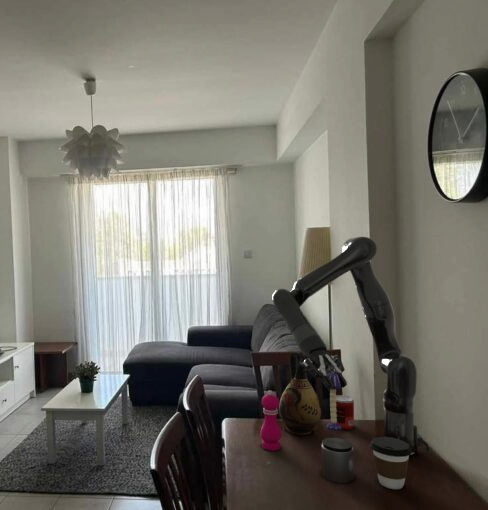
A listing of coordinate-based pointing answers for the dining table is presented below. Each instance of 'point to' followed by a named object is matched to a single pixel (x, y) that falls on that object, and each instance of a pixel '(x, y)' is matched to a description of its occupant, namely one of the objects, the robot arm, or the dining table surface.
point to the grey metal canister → (337, 460)
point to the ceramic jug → (299, 400)
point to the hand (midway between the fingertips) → (338, 387)
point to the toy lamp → (333, 402)
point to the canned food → (345, 411)
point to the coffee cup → (391, 461)
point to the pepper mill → (270, 423)
